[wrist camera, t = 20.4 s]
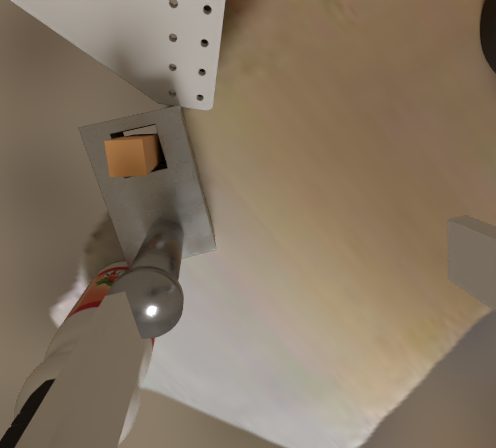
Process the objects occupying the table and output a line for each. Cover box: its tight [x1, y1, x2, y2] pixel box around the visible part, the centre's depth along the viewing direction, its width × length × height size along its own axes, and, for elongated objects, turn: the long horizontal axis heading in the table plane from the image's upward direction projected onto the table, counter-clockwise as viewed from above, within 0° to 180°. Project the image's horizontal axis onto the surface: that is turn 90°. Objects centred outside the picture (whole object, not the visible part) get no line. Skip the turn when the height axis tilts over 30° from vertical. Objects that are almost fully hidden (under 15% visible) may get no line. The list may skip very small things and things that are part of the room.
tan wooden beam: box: [104, 134, 163, 178], centre depth 35 cm, size 3×3×13 cm
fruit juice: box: [14, 261, 155, 445], centre depth 32 cm, size 9×9×28 cm
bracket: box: [11, 0, 225, 110], centre depth 37 cm, size 13×10×20 cm
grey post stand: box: [79, 106, 216, 339], centre depth 32 cm, size 10×16×21 cm, turn 12°
